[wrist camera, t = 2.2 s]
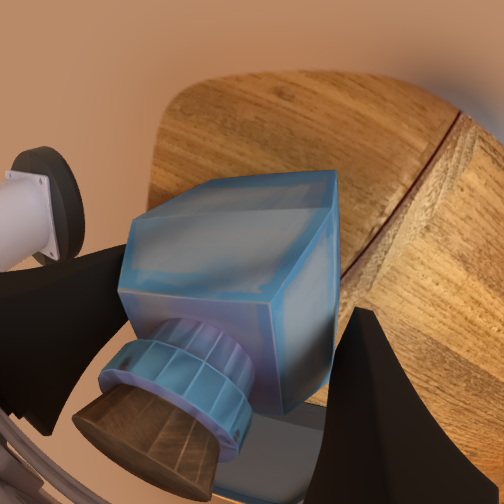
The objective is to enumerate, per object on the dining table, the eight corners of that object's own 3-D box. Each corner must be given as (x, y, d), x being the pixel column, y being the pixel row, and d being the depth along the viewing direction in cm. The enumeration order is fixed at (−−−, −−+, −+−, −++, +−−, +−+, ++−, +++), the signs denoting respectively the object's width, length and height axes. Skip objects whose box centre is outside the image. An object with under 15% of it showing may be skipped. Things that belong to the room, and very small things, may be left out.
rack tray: (205, 479, 38) (200, 488, 36) (207, 371, 21) (194, 392, 19) (288, 503, 35) (285, 513, 33) (392, 418, 18) (391, 441, 16)
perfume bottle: (230, 286, 17) (105, 467, 6) (210, 179, 14) (-15, 317, 4) (340, 289, 14) (296, 533, 4) (336, 170, 12) (284, 438, 2)
